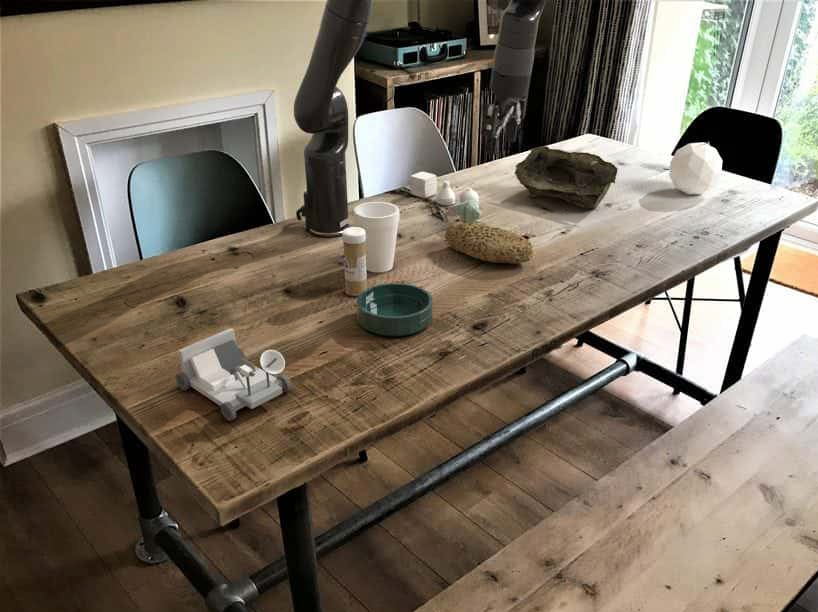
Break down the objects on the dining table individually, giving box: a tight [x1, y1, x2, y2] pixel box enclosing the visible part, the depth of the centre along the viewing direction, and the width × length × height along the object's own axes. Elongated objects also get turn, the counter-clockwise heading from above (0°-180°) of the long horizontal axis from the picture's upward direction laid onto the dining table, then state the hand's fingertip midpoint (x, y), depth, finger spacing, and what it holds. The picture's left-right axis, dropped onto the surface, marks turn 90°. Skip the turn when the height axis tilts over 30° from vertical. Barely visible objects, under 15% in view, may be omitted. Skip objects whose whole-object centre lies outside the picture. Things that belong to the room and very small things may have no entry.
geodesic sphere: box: [669, 141, 723, 195], centre depth 215 cm, size 15×14×14 cm
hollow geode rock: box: [514, 145, 619, 210], centre depth 207 cm, size 28×13×15 cm
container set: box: [409, 171, 480, 209], centre depth 205 cm, size 20×5×6 cm, turn 54°
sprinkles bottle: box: [341, 226, 368, 297], centre depth 157 cm, size 5×5×14 cm
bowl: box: [356, 282, 434, 337], centre depth 150 cm, size 14×14×4 cm
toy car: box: [175, 328, 293, 422], centre depth 126 cm, size 18×10×12 cm
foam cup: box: [353, 201, 400, 273], centre depth 168 cm, size 10×9×13 cm
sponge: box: [444, 221, 535, 264], centre depth 176 cm, size 13×8×20 cm
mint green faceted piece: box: [452, 200, 483, 224], centre depth 191 cm, size 8×4×7 cm, turn 56°
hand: (499, 147), depth 160 cm, fingers open, 8 cm apart
